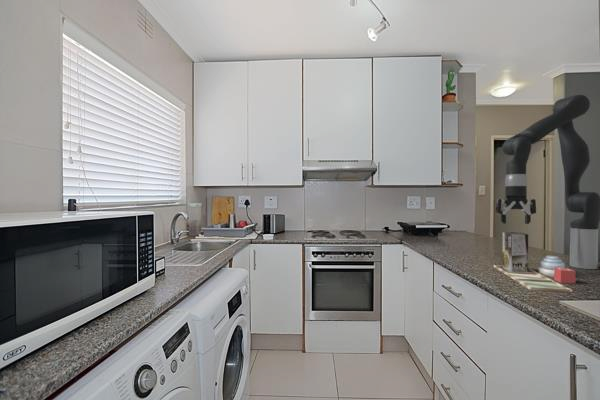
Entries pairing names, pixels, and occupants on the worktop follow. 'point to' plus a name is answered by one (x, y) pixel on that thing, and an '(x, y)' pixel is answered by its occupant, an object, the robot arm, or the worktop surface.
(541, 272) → the dome base
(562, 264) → the dome
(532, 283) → the wooden divided tray
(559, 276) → the red die
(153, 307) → the worktop surface
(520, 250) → the coffee box
